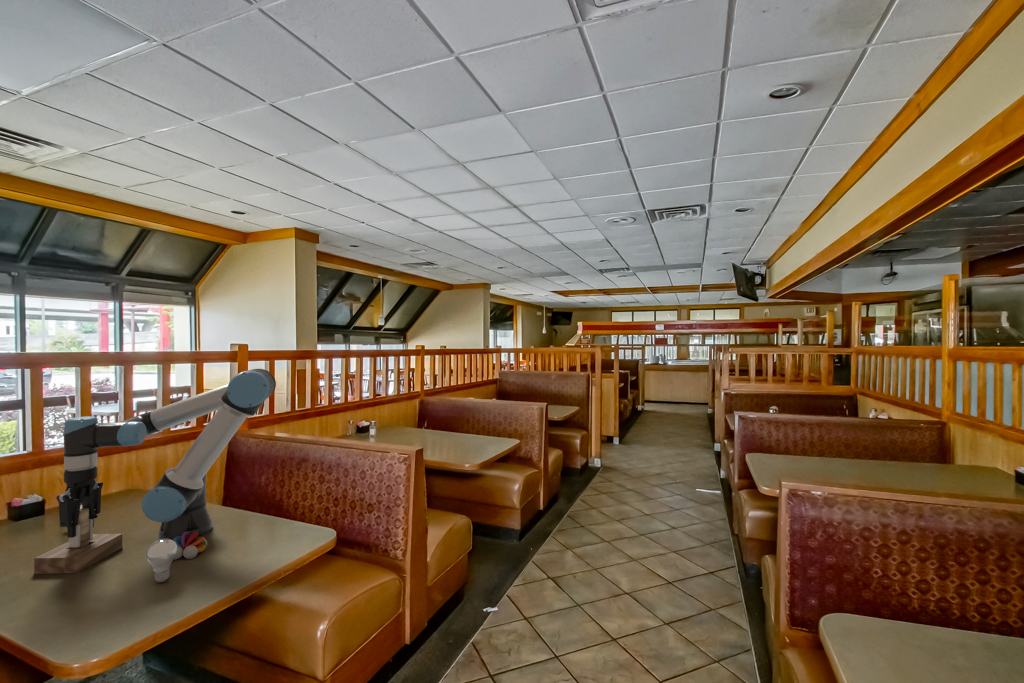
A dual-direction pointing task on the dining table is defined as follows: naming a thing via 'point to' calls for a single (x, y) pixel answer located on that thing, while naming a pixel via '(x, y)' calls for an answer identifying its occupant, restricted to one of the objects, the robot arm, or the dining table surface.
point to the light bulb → (161, 557)
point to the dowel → (83, 527)
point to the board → (77, 555)
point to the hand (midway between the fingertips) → (80, 543)
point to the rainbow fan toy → (189, 545)
